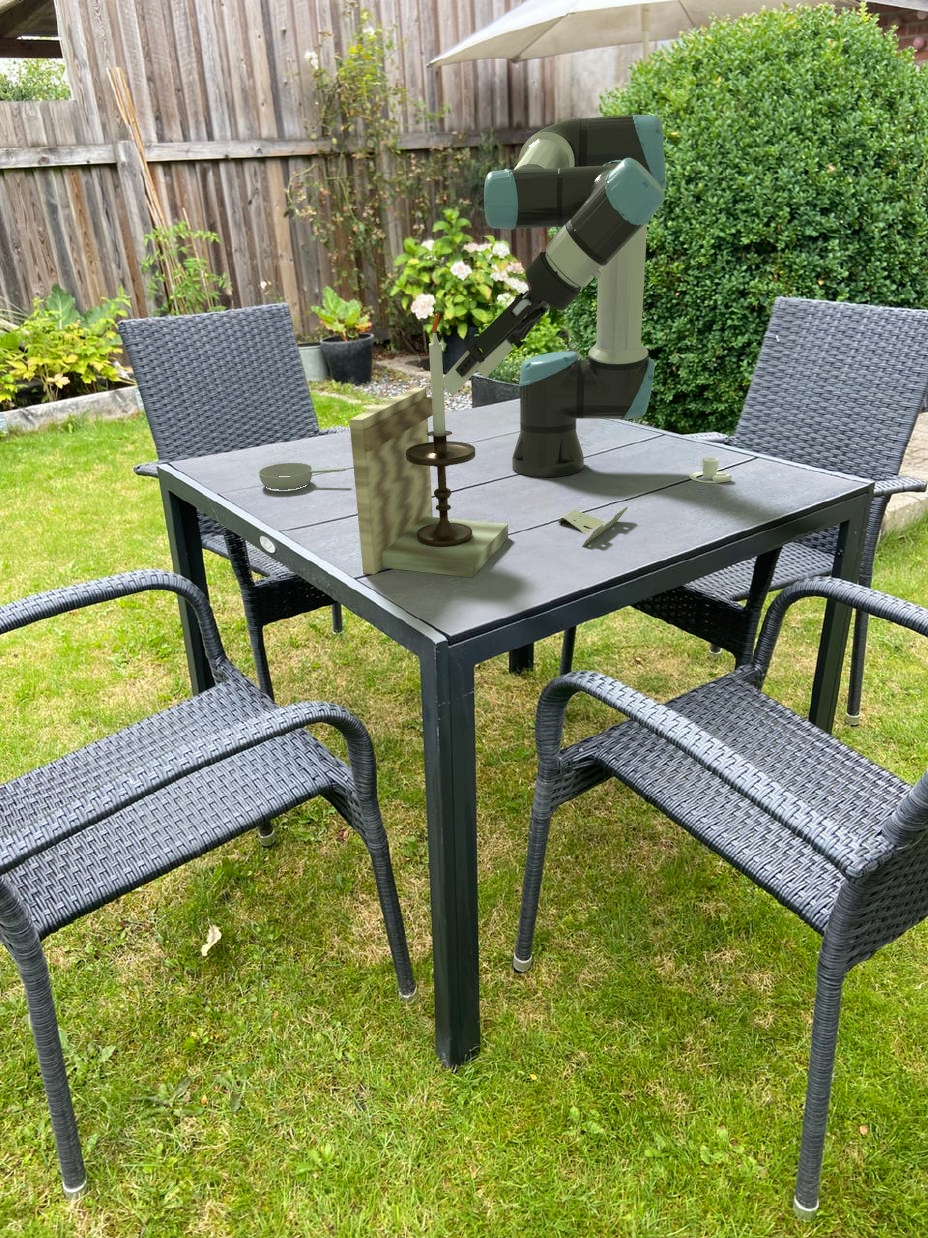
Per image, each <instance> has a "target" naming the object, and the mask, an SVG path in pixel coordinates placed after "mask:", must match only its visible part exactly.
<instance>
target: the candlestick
mask: <svg viewBox="0 0 928 1238" xmlns="http://www.w3.org/2000/svg"><path fill="white" fill-rule="evenodd" d="M439 319H440V312H439V311H437V314H436V315H435V318H434V320H433V323H432V328H431V329H432V339H431V343H429V344H428V348H429V349H428V351H429V352H428V353H429V369H430V370H429V371H430V388H431V389H430V390H431V397H432V411H433V415H432V426H433V429H432V430H433V431H428V433H427V435H428V436H429V437H432V441H429V442H428V443H422V444H418V445H414V446H412V447H410V448H408V449H407V450H406V459H407V461H409V462H410V463H413V464H417V465H423V466H430V467H434V468H436V469H437V470H436V471H437V472H436V473H437V488H436V489H435V490H433V495H434V497H435V499H437V502H438V503H437V505H436V506H435V510H436V511H438V512H439V513H438V515H439V518H440V520H439V522H438V523H435V524H430V525H427V526H424V527H422V528H420V529H419V530H418V531H417V540H418V541H419V542H420V543H422V544H424V545H427V546H433V547H450V546H457V545H461V544H464V543H466V542H468V541H470V540H471V539H472V529H471V528H470V527H469V526H467V525H464V524H459V523H450V522H449V520H448V518H449V514H448V513H449V512H448V511H450V510H451V508H452V507H451V504H449V501H448V499H450V497H451V495H452V490H451V489H450V488H448V487H447V473H446V472H447V471H446V470H447V469H446V467H449V466H453V465H460V464H463V463H464V464H465V463H467V462H470V461H472V460H473V459H475V458H476V447H475V446H474V445H472V444H470V443H466V442H462V441H450V440H449V441H448V440H447V436H448V437H449V436H451V435H452V434H453V432H452V431H451V430H450V431H449V430H446V411H445V410H446V409H445V392H444V389H445V388H444V386H443V385H442V384H441V383H440V381H441V380H442V378H443V377H444V370H443V369H444V367H443V364H444V363H443V347H442V345H443V343H442V342H440V341H439V339H438V335H437V331H438V326H439Z"/></svg>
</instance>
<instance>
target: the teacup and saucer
mask: <svg viewBox="0 0 928 1238" xmlns="http://www.w3.org/2000/svg"><path fill="white" fill-rule="evenodd" d="M719 462H720V459H719V458H718V457H704V458H703V459H701V468H702V471H697V472H696V471H695V472H693V473H691V474H689V478H690V479H691V480H692V481H696V482H698V483H705V484H719V483H725V482H729V481H731V480H732V478H733V477H732V474H729V473H723V472H720V471H718V468H719V465H720V463H719ZM701 475H702V476H703V479H705V480H702V479H698V478H697V476H701ZM708 480H709V481H708ZM710 480H712V481H710Z"/></svg>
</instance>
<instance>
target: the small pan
mask: <svg viewBox="0 0 928 1238" xmlns="http://www.w3.org/2000/svg"><path fill="white" fill-rule="evenodd" d="M346 470H347V469H346V467H333V468H318V469H313V467H312V466H311V465H310V464H307V463H303V462H284V463H277V464H272V465H267V466H265V467H264V466H263V468H260V469H259V471H258V474H259V480H260V482H261V484H262V485H263V486H264V487H265V488H266V487H267V488H271V489H279V490H288V489H296V488H300V487H303V486H305V485H307V484H308V485H309V484H310V482H311V480H312V478H313V474H318V473H322V474H323V473H335V472H336V473H338V472H346ZM279 476H290V477H279ZM267 488H266V489H267Z"/></svg>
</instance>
